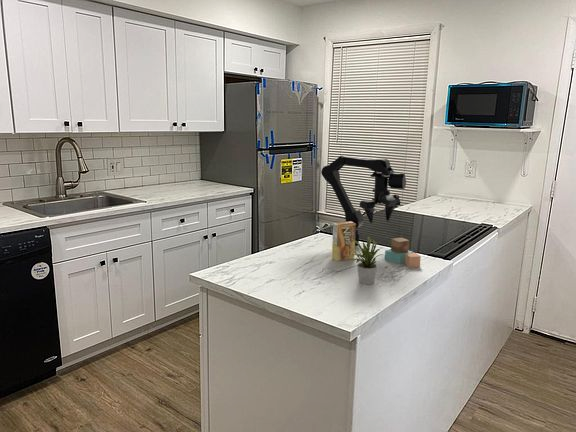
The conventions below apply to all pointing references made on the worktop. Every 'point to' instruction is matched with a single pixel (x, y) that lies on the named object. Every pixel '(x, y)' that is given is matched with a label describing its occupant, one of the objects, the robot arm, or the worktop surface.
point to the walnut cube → (400, 245)
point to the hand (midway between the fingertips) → (379, 221)
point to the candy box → (343, 240)
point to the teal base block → (395, 256)
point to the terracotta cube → (412, 259)
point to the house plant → (366, 262)
